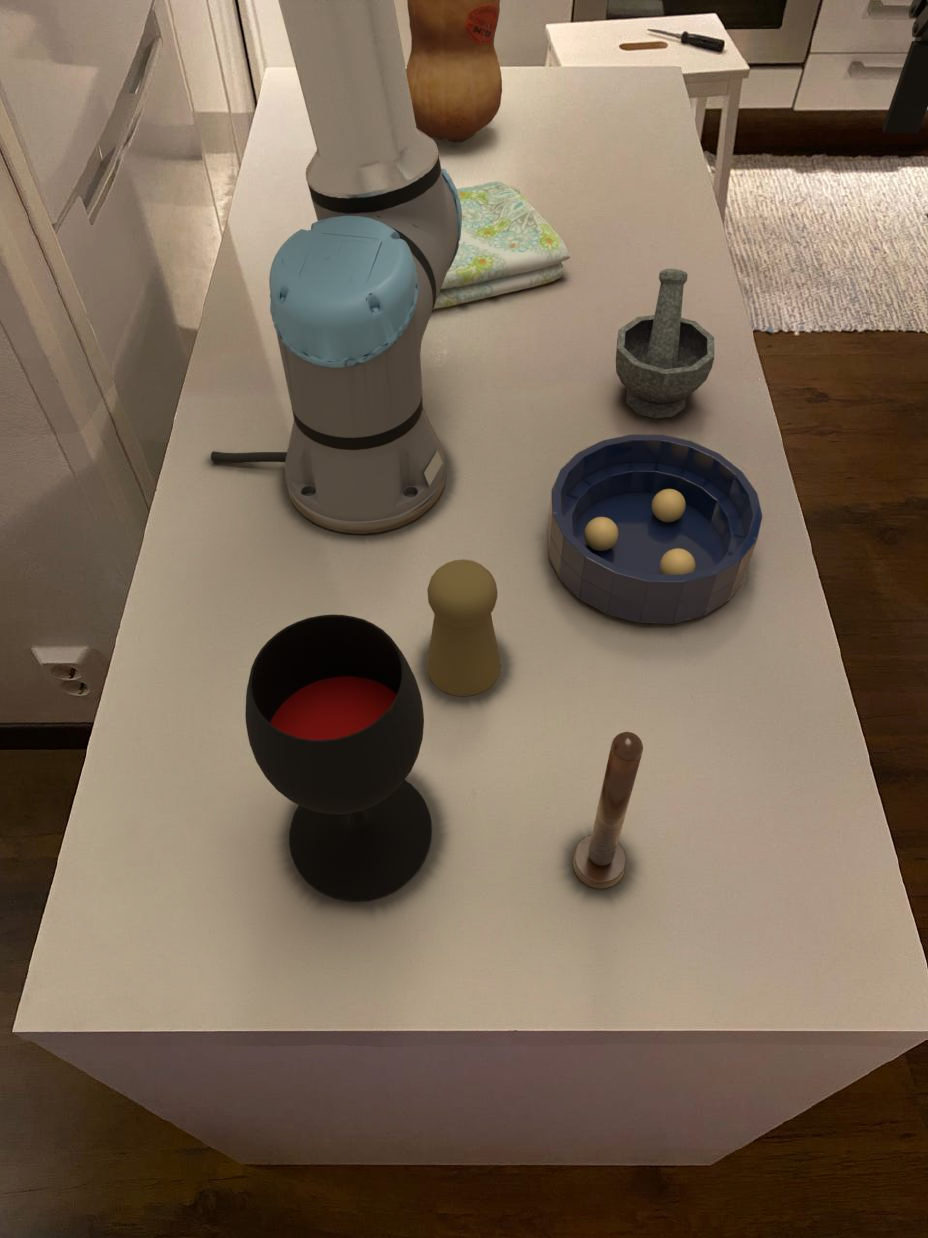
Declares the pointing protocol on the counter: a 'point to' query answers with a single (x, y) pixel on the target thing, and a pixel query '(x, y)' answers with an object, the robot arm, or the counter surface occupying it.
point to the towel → (500, 246)
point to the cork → (463, 628)
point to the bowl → (652, 527)
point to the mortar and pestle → (663, 353)
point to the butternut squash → (453, 66)
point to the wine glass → (342, 752)
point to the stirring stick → (610, 817)
